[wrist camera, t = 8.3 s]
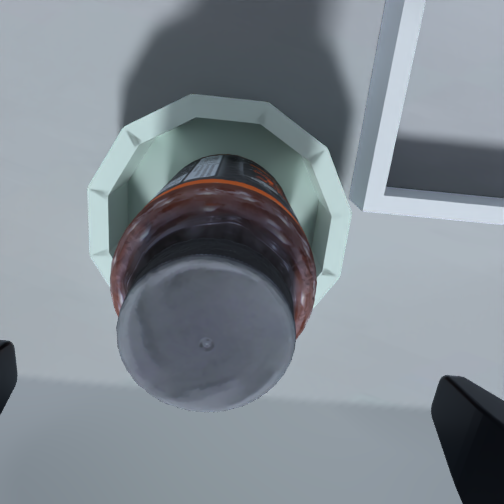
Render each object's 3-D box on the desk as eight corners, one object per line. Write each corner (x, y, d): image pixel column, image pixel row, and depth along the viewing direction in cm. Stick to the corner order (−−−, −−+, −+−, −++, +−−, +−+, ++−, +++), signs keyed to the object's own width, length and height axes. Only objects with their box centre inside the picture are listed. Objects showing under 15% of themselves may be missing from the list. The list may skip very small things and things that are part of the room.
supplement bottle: (310, 227, 20) (393, 370, 9) (213, 293, 21) (187, 488, 10) (238, 123, 18) (237, 150, 7) (136, 200, 19) (7, 320, 8)
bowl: (345, 111, 19) (371, 112, 15) (311, 312, 23) (325, 353, 19) (115, 86, 18) (82, 81, 15) (118, 296, 22) (92, 336, 18)
